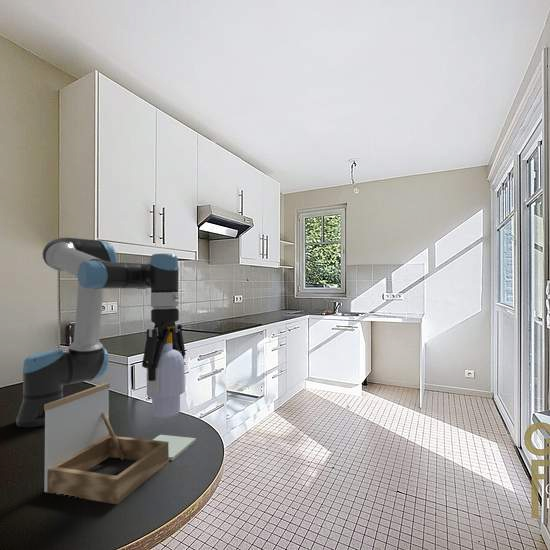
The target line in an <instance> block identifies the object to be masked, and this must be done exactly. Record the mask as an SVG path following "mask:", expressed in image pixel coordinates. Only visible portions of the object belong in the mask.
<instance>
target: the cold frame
mask: <svg viewBox="0 0 550 550" xmlns="http://www.w3.org/2000/svg"><path fill="white" fill-rule="evenodd" d="M101 416H102V418H103V420H104V422H105V425H106V427H107V429H108V431H109V436H107V437H105V438H103V439H102V440H100V441H98V442H96V443H94V444H93V445H91V446H89V447H87V448H85V449H83V450H82V451H80V452H78V453H76V454H74V455H73V456H71V457H69V458H67V459H65V460H63V461H62V462H60V463H58V464H56V465H54V466H53V467H51V468H49V469H48V492H47V493H48V494H54V493H56V494H55V495H60V494H64V495H63V496H65V495H69V496H68V497H71V496H75V497H74V498H77V497H79V498H78V499H83V498H84V500H88V501H89V500H90V501H94V502H102V503H107V504H113V505H119V504H121V502H122V501H124V500H125V499H126V498H127V497H129V496H130V495H131V494H132V493H133V492H134V491H136V490H137V489H138V488H139V487H140V486H141V485H143V484H144V483H145V482H146V481H147V480H149V479H150V478H151V477H152V476H154V475H155V474H156V473H157V472H158V471H159V470H160V469H162V468H163V467H164V466H165V465H166V464H168V463H169V461H170V460H169V450H168V442H165V441H156V440H153V439H145V438H144V439H143V438H137V437H129V436H128V437H126V436H117V435H116V434H115V431H114V430H113V428H112V425H111V423H110V420H109V421H108V418H107V416H106V414H105V412H104V413H102V414H101ZM108 458H116V459H117V458H118V459H120V460H121V461H123V460H133V461H135V462H134V463H132V464H131V465H130V466H129V467H127V468H125V469H124V470H123V471H122V472H120V473H119V474H116V475H113V474H106V473H100V472H93V471H89V470H91V469H92V468H94V467H95V466H97V465H99V464H100V463H102V462H103V461H105V460H107V459H108Z"/></svg>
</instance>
